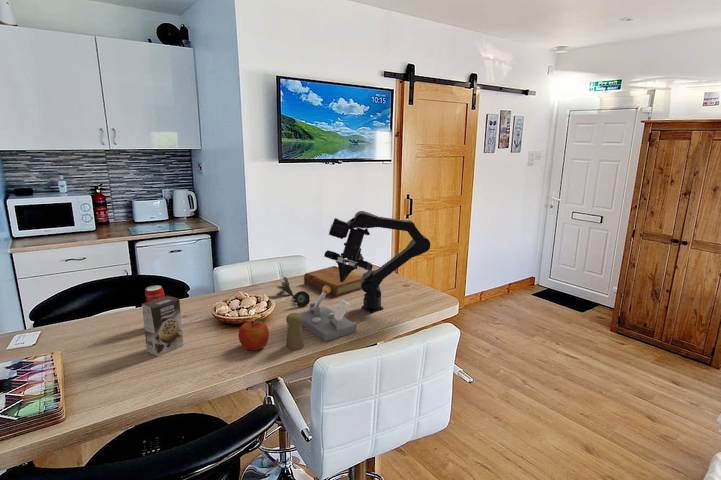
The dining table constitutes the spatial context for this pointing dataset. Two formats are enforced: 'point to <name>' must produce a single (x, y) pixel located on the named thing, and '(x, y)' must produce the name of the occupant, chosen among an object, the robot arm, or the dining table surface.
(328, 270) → the diary
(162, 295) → the beverage can
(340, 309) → the cream paddle switch
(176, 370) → the dining table surface
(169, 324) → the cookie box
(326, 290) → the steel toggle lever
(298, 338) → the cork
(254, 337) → the fruit
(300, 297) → the artificial flower
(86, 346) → the dining table surface
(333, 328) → the switch panel
